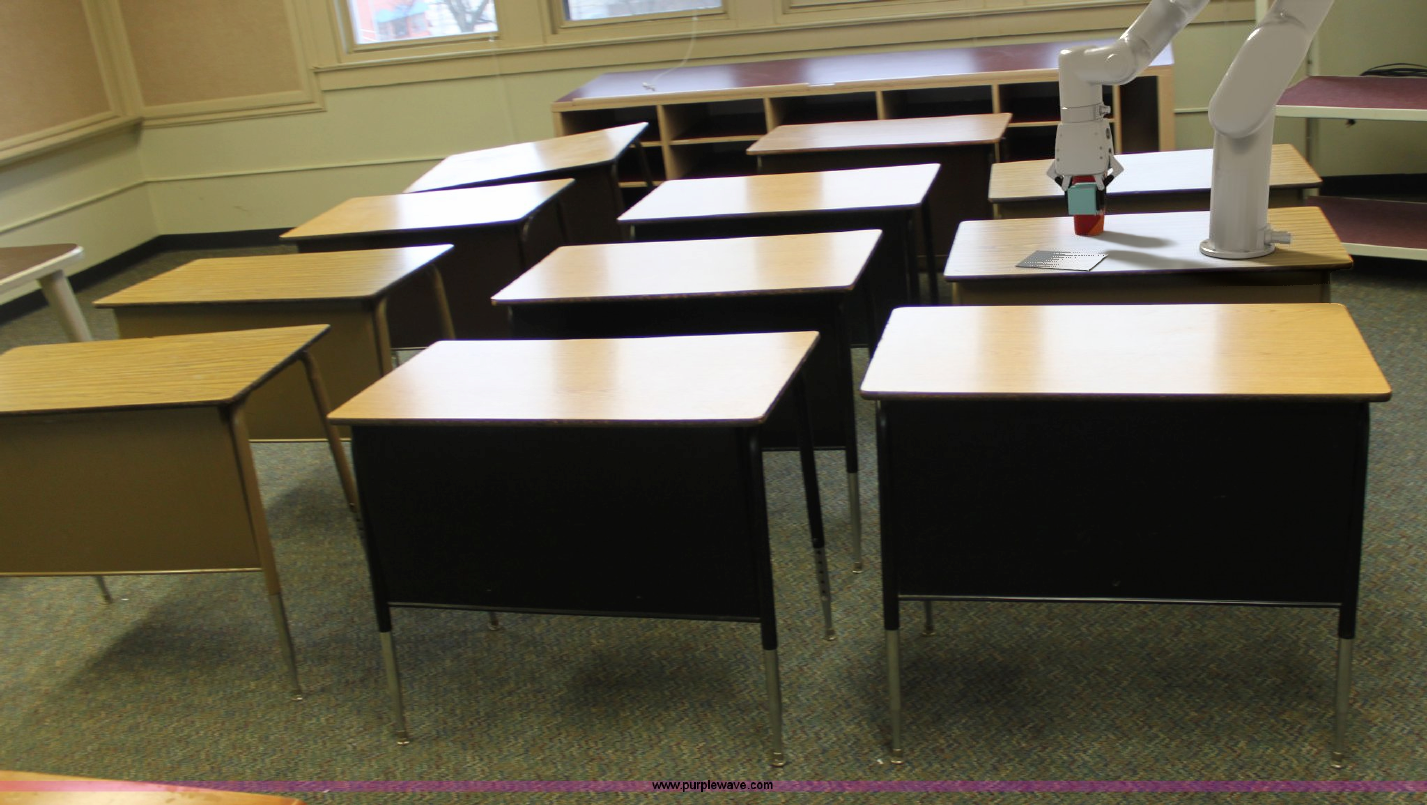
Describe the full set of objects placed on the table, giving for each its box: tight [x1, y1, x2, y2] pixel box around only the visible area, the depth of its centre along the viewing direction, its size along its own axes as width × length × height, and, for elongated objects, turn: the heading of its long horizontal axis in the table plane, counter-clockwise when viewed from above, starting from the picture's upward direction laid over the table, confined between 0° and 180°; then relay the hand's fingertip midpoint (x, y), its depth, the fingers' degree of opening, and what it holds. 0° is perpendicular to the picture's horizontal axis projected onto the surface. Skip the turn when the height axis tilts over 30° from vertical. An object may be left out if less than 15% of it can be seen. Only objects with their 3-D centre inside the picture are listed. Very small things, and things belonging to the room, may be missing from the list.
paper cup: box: [1072, 169, 1111, 237], centre depth 229 cm, size 8×8×14 cm
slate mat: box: [1015, 249, 1104, 268], centre depth 215 cm, size 14×11×1 cm
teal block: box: [1068, 183, 1099, 216], centre depth 218 cm, size 5×5×5 cm
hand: (1085, 208), depth 219 cm, fingers closed on teal block, 4 cm apart
